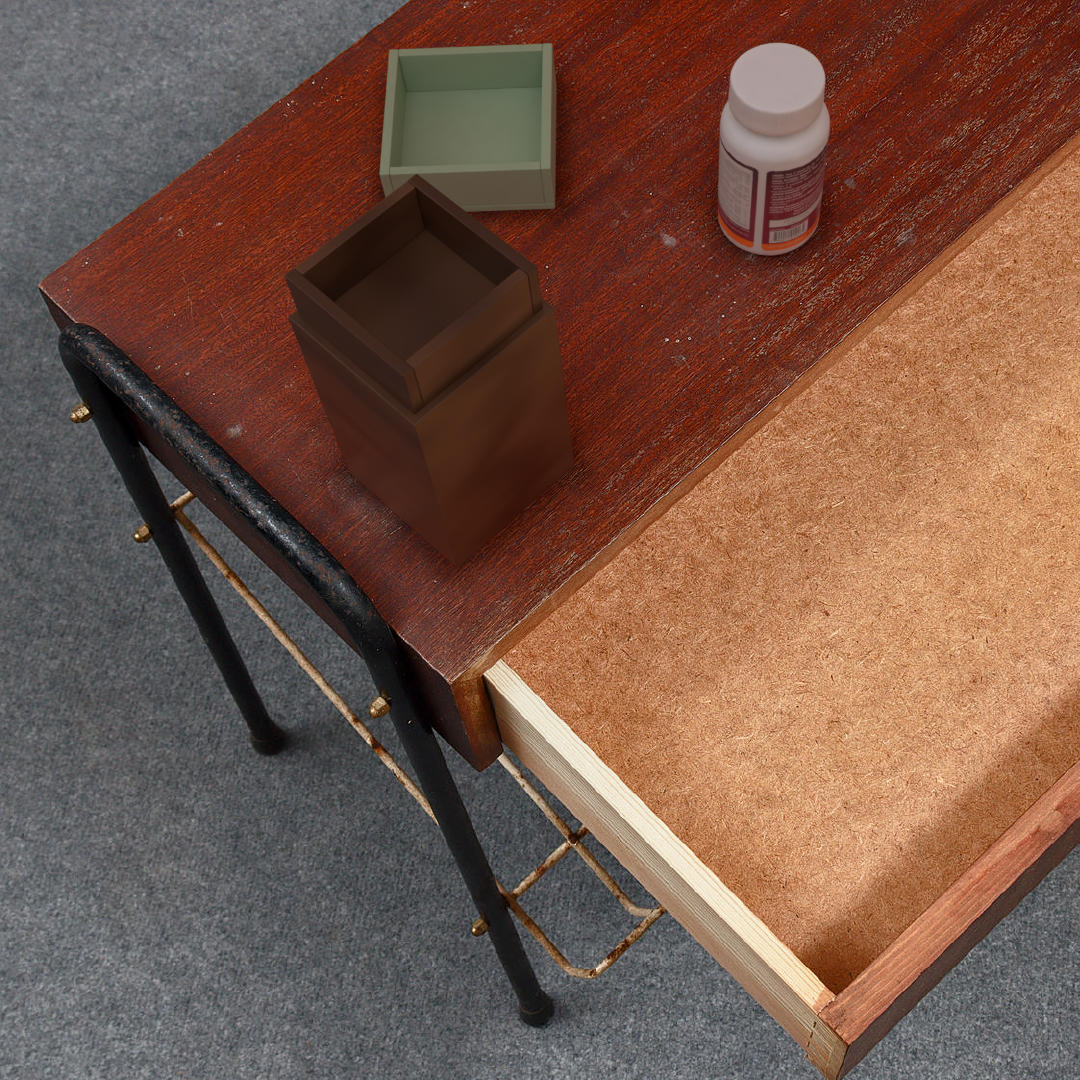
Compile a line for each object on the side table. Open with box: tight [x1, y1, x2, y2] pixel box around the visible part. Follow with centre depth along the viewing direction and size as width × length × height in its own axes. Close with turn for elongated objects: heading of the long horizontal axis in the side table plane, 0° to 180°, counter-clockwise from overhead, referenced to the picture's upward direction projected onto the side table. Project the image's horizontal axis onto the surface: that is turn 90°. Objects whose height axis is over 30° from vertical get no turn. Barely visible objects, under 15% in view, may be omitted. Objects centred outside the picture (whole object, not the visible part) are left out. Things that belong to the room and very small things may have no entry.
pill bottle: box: [717, 42, 831, 256], centre depth 83 cm, size 6×6×11 cm
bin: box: [378, 42, 558, 213], centre depth 90 cm, size 10×10×4 cm
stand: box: [284, 174, 575, 569], centre depth 74 cm, size 9×9×17 cm
